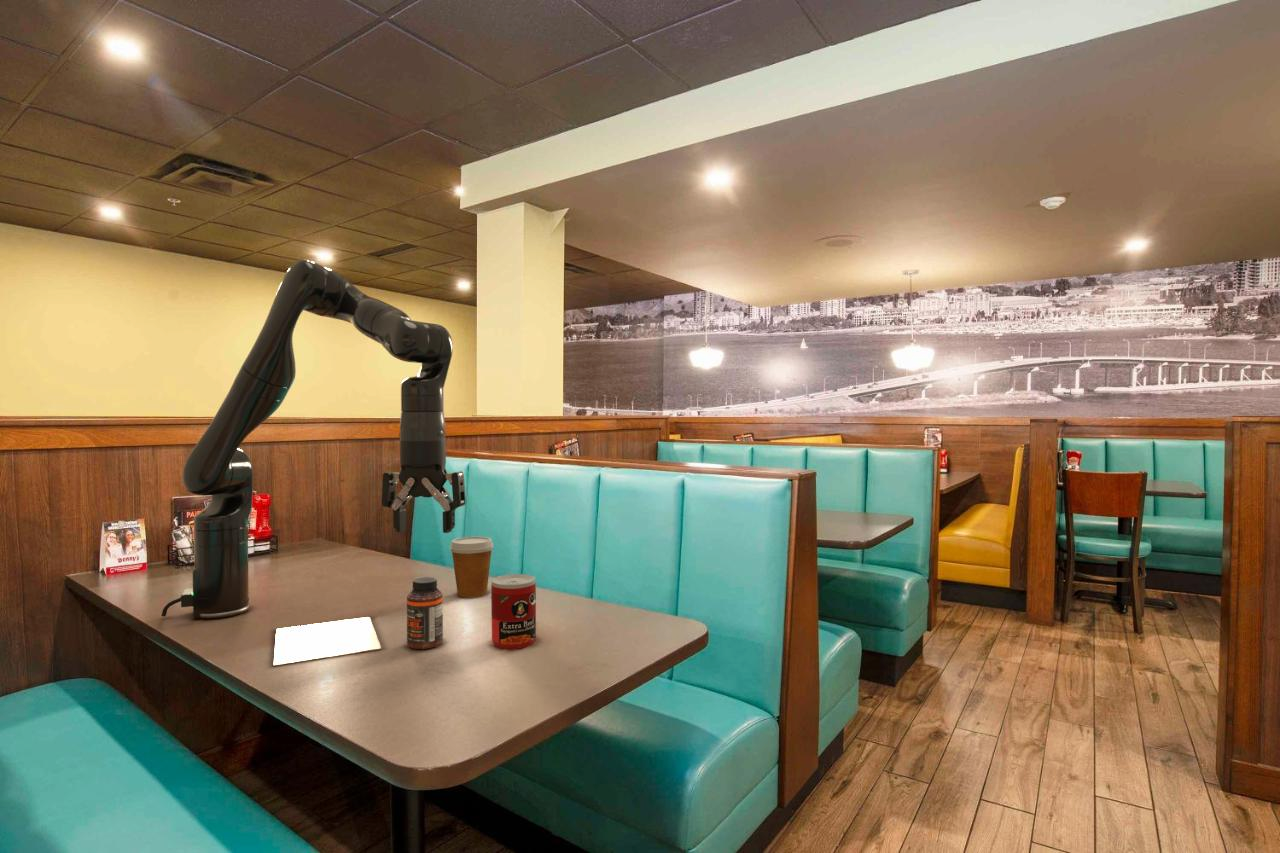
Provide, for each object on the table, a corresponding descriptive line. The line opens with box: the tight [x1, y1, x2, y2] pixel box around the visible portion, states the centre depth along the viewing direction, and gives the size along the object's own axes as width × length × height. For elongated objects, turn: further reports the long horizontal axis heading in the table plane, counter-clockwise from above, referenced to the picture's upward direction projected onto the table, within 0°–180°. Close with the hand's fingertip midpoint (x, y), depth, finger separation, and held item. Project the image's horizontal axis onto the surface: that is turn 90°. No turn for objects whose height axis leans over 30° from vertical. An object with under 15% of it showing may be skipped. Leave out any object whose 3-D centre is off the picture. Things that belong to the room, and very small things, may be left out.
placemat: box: [273, 616, 382, 667], centre depth 118 cm, size 16×20×1 cm
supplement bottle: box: [406, 576, 444, 650], centre depth 115 cm, size 6×6×11 cm
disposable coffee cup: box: [449, 536, 495, 599], centre depth 147 cm, size 10×10×12 cm
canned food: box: [490, 573, 537, 650], centre depth 116 cm, size 8×8×11 cm
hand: (424, 531), depth 115 cm, fingers open, 8 cm apart
